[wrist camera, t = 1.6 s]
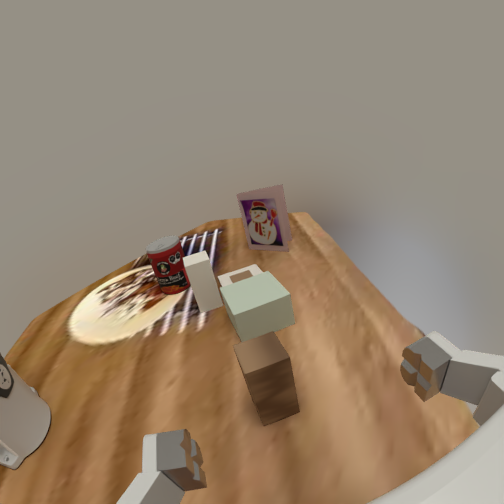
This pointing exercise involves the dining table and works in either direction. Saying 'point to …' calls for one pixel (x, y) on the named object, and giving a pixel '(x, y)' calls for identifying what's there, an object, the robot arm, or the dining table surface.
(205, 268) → the offwhite post
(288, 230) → the greeting card
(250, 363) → the walnut post
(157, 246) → the canned food
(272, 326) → the sage block
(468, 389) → the robot arm
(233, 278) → the tile
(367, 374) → the dining table surface
